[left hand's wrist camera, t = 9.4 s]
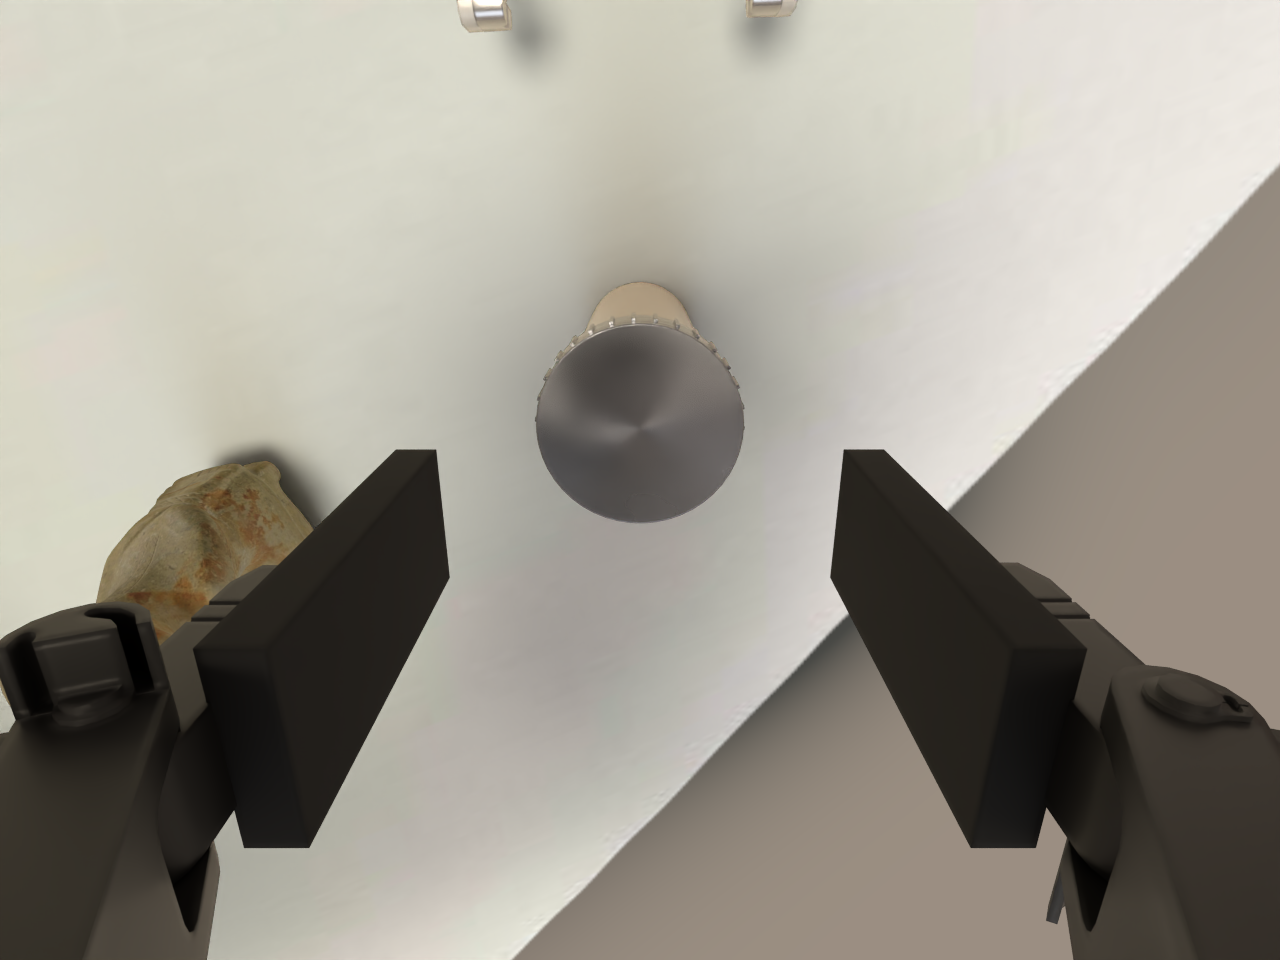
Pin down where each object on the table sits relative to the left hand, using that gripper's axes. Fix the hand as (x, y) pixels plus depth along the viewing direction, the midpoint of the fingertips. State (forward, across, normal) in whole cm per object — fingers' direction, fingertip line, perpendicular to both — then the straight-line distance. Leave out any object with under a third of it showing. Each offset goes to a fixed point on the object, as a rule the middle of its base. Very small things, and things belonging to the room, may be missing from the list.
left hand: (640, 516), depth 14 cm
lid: (+6, 0, 0) cm, 6 cm away
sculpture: (+22, -19, -9) cm, 30 cm away
